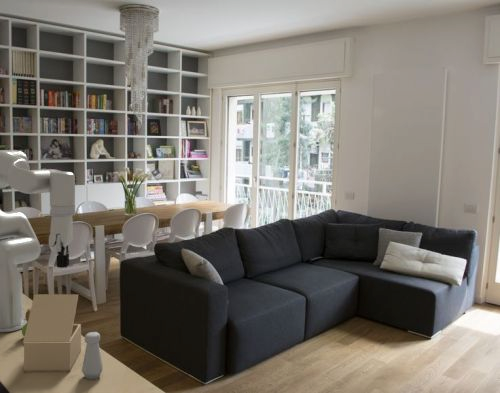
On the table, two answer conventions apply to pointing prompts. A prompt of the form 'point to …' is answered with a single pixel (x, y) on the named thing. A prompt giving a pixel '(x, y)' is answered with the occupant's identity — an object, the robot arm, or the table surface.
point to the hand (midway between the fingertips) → (63, 266)
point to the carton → (53, 354)
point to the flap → (51, 318)
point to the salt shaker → (92, 356)
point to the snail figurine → (27, 321)
